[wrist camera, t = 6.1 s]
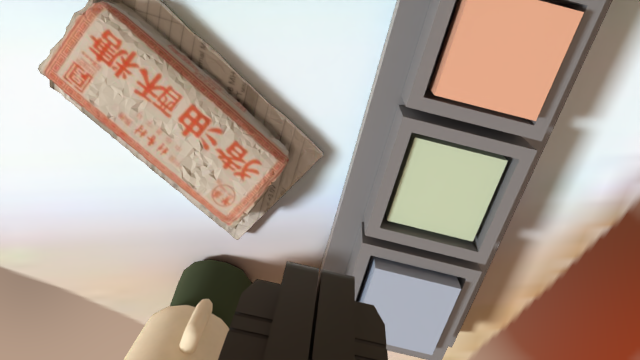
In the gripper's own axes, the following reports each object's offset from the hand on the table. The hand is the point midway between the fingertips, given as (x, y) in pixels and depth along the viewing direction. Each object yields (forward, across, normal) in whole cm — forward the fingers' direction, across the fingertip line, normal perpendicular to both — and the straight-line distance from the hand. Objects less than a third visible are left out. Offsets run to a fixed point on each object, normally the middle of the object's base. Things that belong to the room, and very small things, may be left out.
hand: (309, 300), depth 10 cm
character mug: (+23, +6, +20) cm, 31 cm away
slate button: (+19, -8, +14) cm, 25 cm away
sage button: (+21, -8, +5) cm, 23 cm away
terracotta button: (+20, -8, -4) cm, 22 cm away
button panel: (+24, -8, +5) cm, 25 cm away
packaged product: (+24, +10, +5) cm, 27 cm away
